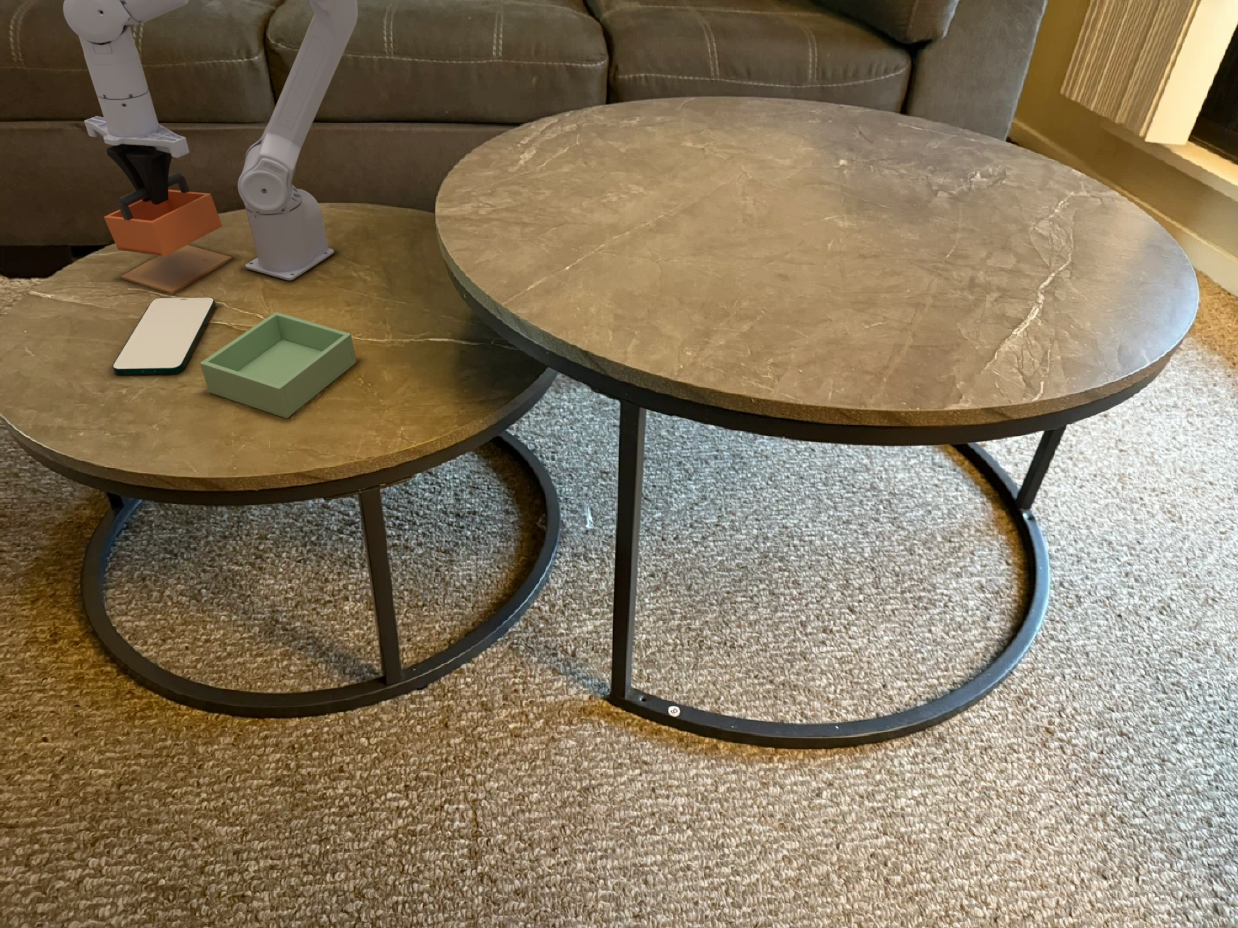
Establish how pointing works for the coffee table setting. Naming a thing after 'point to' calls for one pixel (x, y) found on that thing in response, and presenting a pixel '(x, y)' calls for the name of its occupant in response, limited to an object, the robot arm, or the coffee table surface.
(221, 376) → the green tray
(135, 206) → the terracotta tote
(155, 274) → the cork pad
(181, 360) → the smartphone
